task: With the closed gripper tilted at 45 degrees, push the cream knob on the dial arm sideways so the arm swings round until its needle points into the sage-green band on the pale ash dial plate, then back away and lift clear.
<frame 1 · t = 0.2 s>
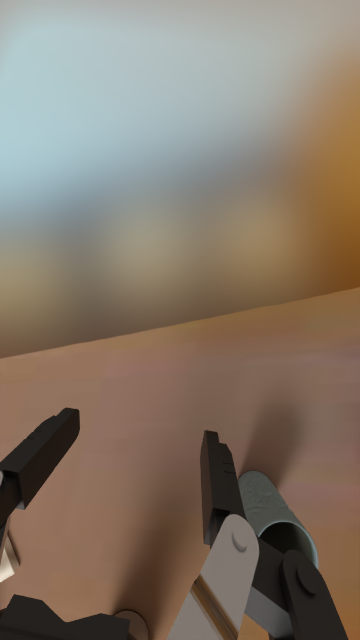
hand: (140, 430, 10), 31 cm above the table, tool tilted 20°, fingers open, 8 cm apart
grey cup: (253, 489, 38), on the table
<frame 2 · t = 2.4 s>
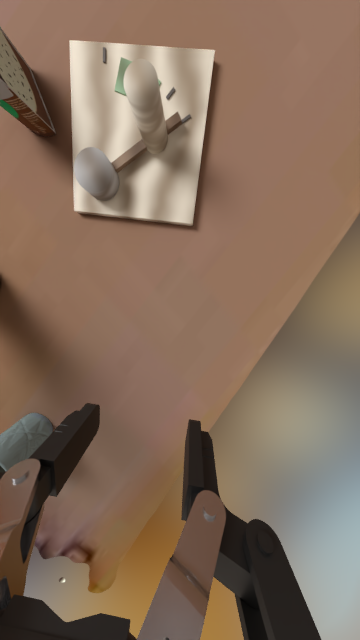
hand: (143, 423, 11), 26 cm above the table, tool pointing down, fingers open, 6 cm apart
grey cup: (39, 425, 46), on the table
dial plate: (106, 185, 31), on the table
food container: (30, 111, 29), on the table
peg dial: (121, 138, 24), point 6 cm above the table, hinge at 0.0°
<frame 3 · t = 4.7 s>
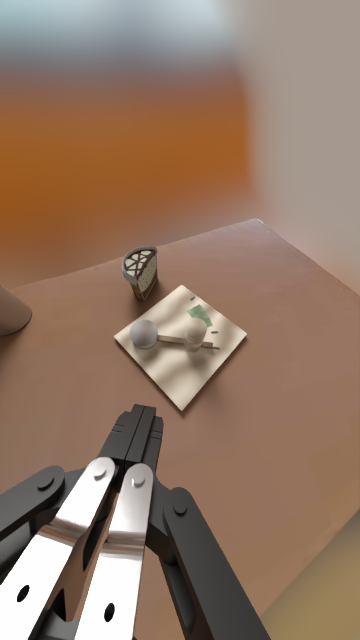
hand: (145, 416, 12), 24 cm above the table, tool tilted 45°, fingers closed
dial plate: (146, 339, 40), on the table
food container: (141, 286, 49), on the table
peg dial: (171, 333, 35), point 6 cm above the table, hinge at 0.0°
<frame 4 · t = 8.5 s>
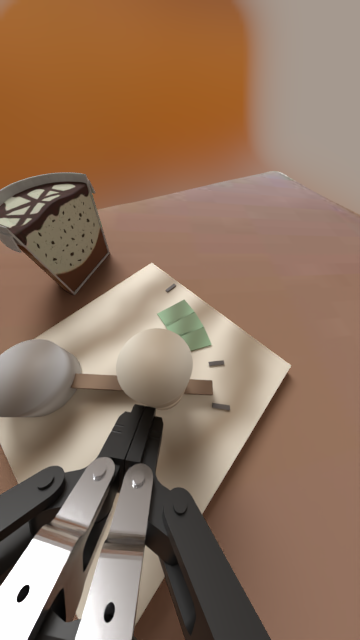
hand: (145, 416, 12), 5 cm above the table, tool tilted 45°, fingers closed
dial plate: (57, 383, 17), on the table
food container: (76, 268, 26), on the table
peg dial: (96, 374, 12), point 6 cm above the table, hinge at 5.0°, touching gripper
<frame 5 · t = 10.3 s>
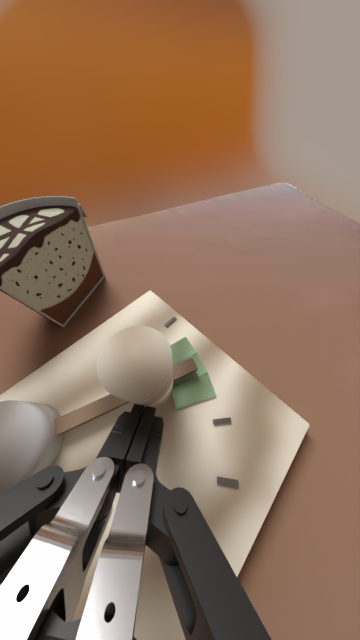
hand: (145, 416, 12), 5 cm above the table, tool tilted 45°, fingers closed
dial plate: (36, 442, 15), on the table
food container: (68, 294, 24), on the table
peg dial: (79, 405, 11), point 6 cm above the table, hinge at 33.0°
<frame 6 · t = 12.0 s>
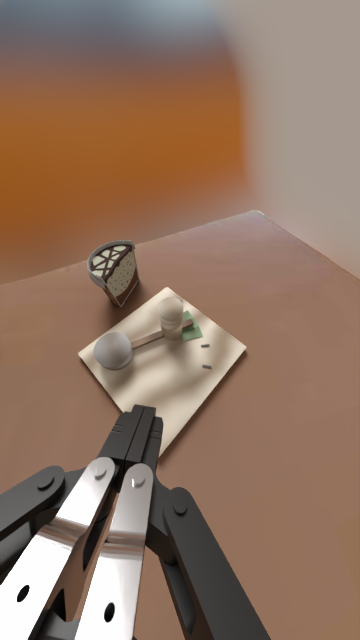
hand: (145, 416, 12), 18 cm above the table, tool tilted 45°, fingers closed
dial plate: (119, 356, 32), on the table
food container: (119, 290, 41), on the table
peg dial: (146, 330, 29), point 6 cm above the table, hinge at 33.0°
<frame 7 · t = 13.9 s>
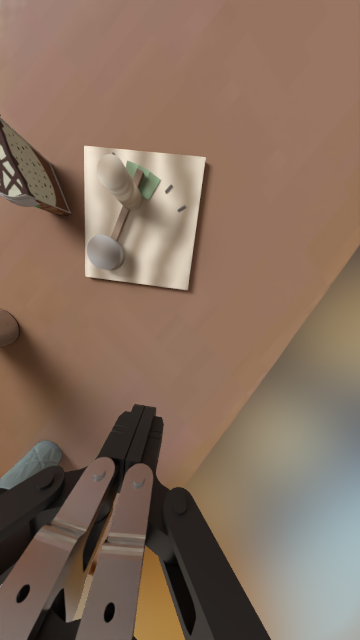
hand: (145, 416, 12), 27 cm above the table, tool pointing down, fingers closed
grey cup: (50, 451, 51), on the table
dial plate: (113, 255, 35), on the table
food container: (48, 195, 34), on the table
peg dial: (112, 216, 28), point 6 cm above the table, hinge at 33.0°
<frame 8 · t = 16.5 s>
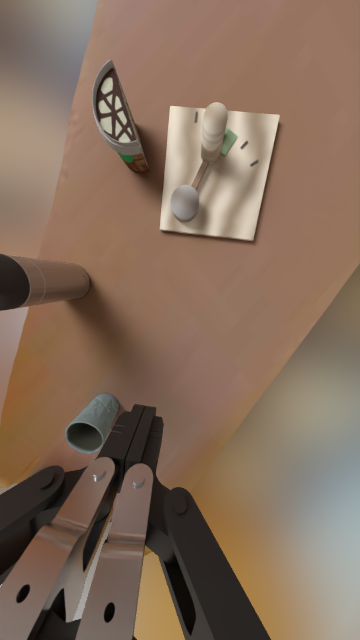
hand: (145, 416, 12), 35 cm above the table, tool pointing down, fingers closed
grey cup: (107, 403, 55), on the table
dial plate: (185, 210, 39), on the table
food container: (130, 154, 38), on the table
peg dial: (199, 165, 32), point 6 cm above the table, hinge at 33.0°
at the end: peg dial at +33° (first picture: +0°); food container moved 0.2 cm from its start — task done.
